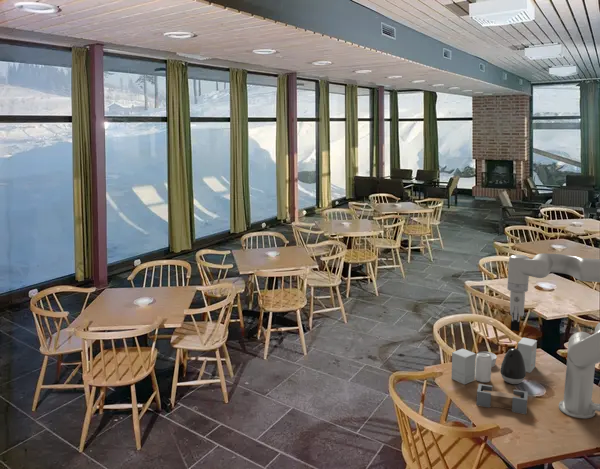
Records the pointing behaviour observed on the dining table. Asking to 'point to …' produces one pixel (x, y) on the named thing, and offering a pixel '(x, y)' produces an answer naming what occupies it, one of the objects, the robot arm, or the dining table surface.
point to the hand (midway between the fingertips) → (514, 329)
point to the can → (483, 367)
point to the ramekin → (493, 359)
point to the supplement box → (463, 366)
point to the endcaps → (517, 405)
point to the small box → (528, 352)
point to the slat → (501, 399)
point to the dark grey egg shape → (513, 367)
